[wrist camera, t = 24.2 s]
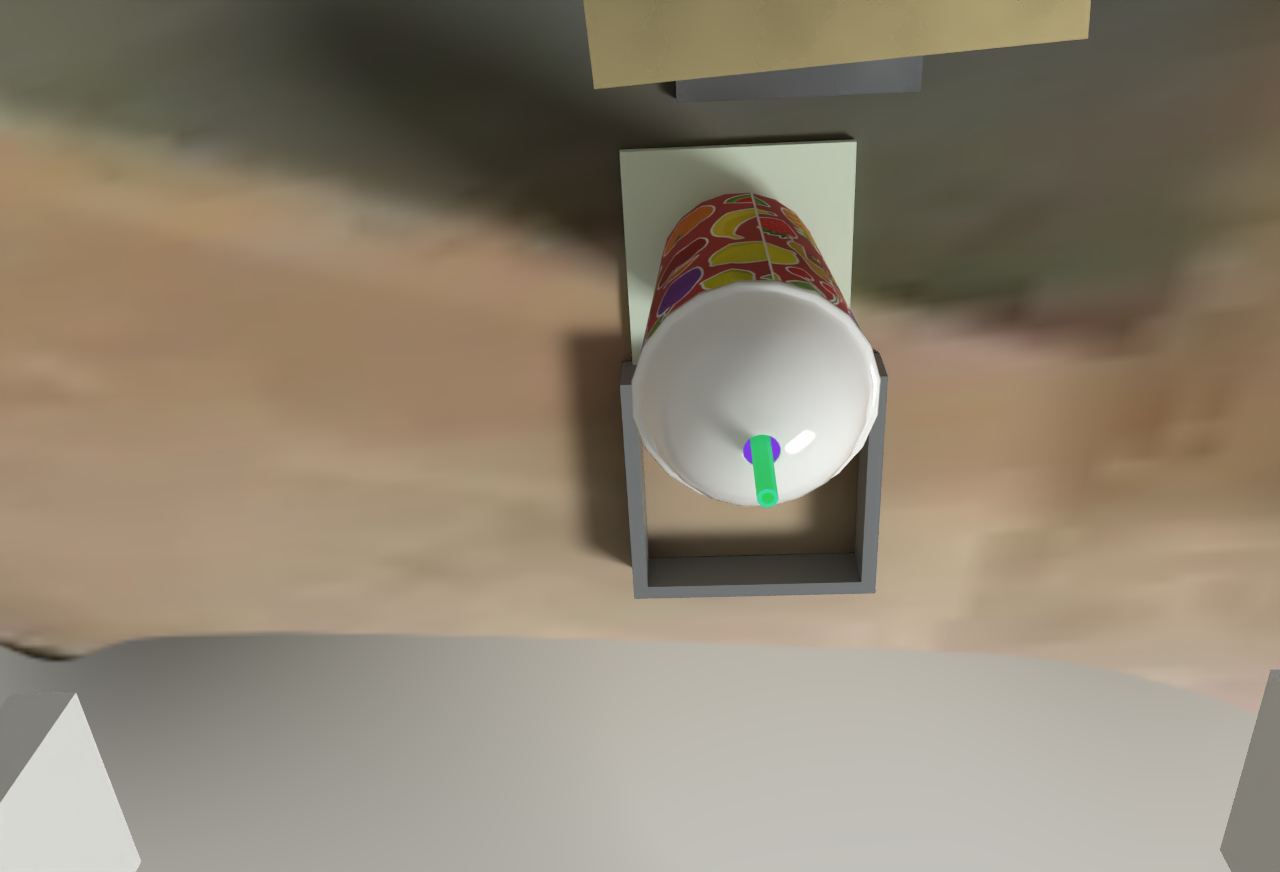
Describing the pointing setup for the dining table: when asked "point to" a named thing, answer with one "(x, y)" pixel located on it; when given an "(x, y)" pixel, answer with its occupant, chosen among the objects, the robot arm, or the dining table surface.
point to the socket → (762, 570)
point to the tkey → (805, 33)
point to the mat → (688, 176)
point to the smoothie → (751, 358)
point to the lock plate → (808, 81)
